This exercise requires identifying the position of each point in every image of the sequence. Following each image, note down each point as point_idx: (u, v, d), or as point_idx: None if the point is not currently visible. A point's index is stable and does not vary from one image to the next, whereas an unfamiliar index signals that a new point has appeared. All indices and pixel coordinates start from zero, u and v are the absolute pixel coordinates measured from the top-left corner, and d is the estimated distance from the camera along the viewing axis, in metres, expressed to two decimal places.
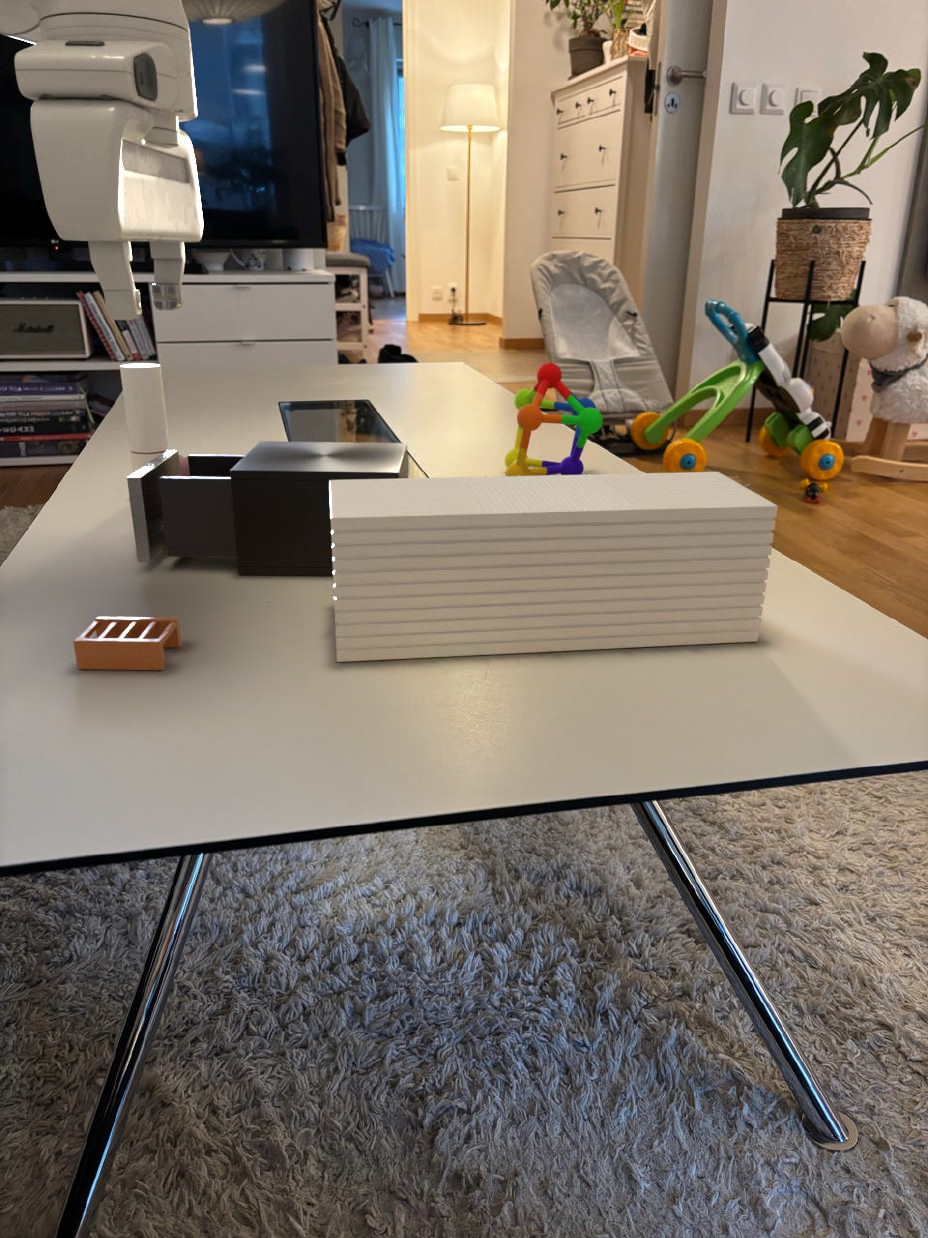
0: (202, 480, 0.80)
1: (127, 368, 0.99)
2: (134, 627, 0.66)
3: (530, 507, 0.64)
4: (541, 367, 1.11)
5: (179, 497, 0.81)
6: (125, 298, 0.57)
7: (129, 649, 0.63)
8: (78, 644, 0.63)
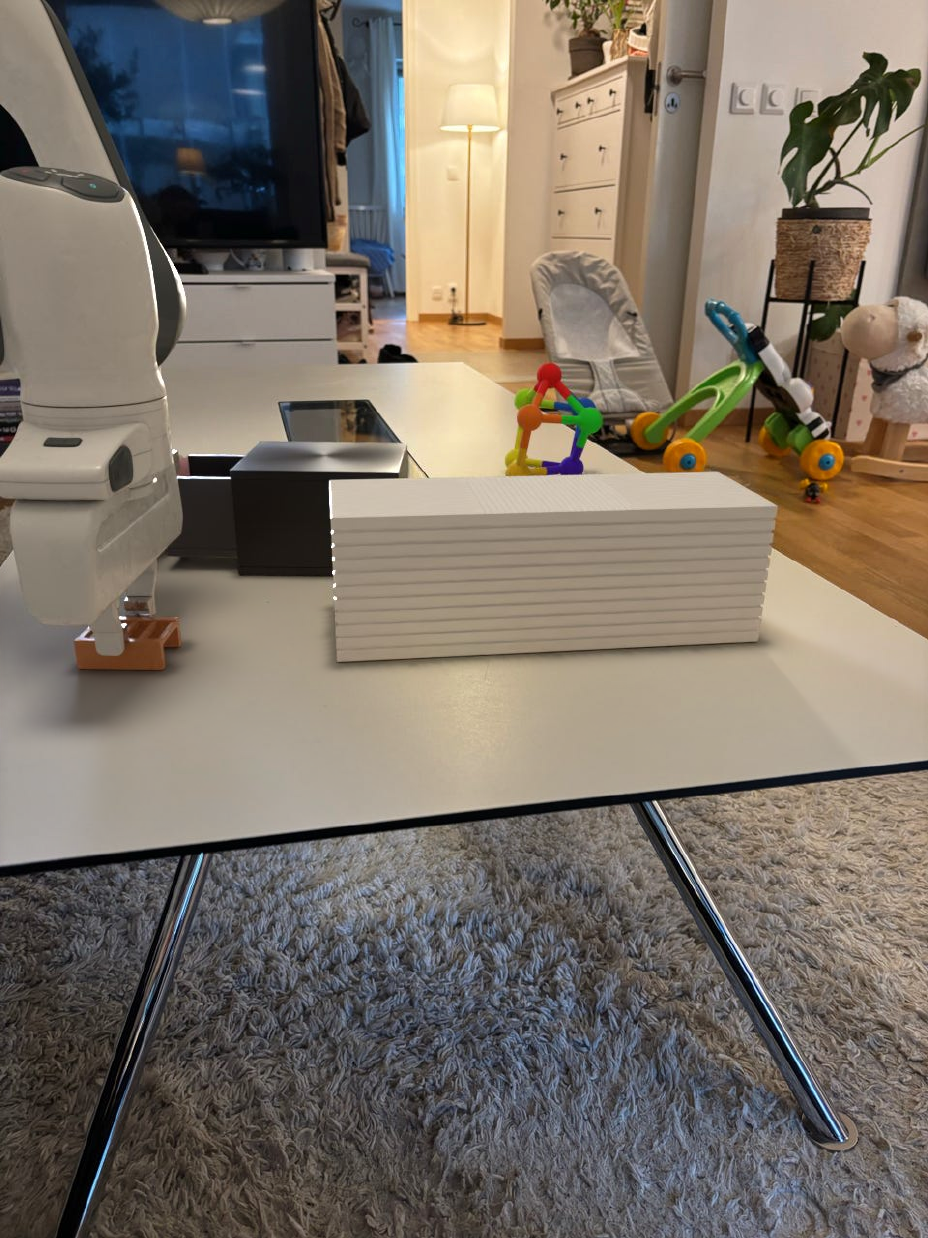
0: (202, 480, 0.80)
1: None
2: (134, 627, 0.66)
3: (530, 507, 0.64)
4: (541, 367, 1.11)
5: None
6: (113, 638, 0.61)
7: (129, 649, 0.63)
8: (78, 644, 0.63)
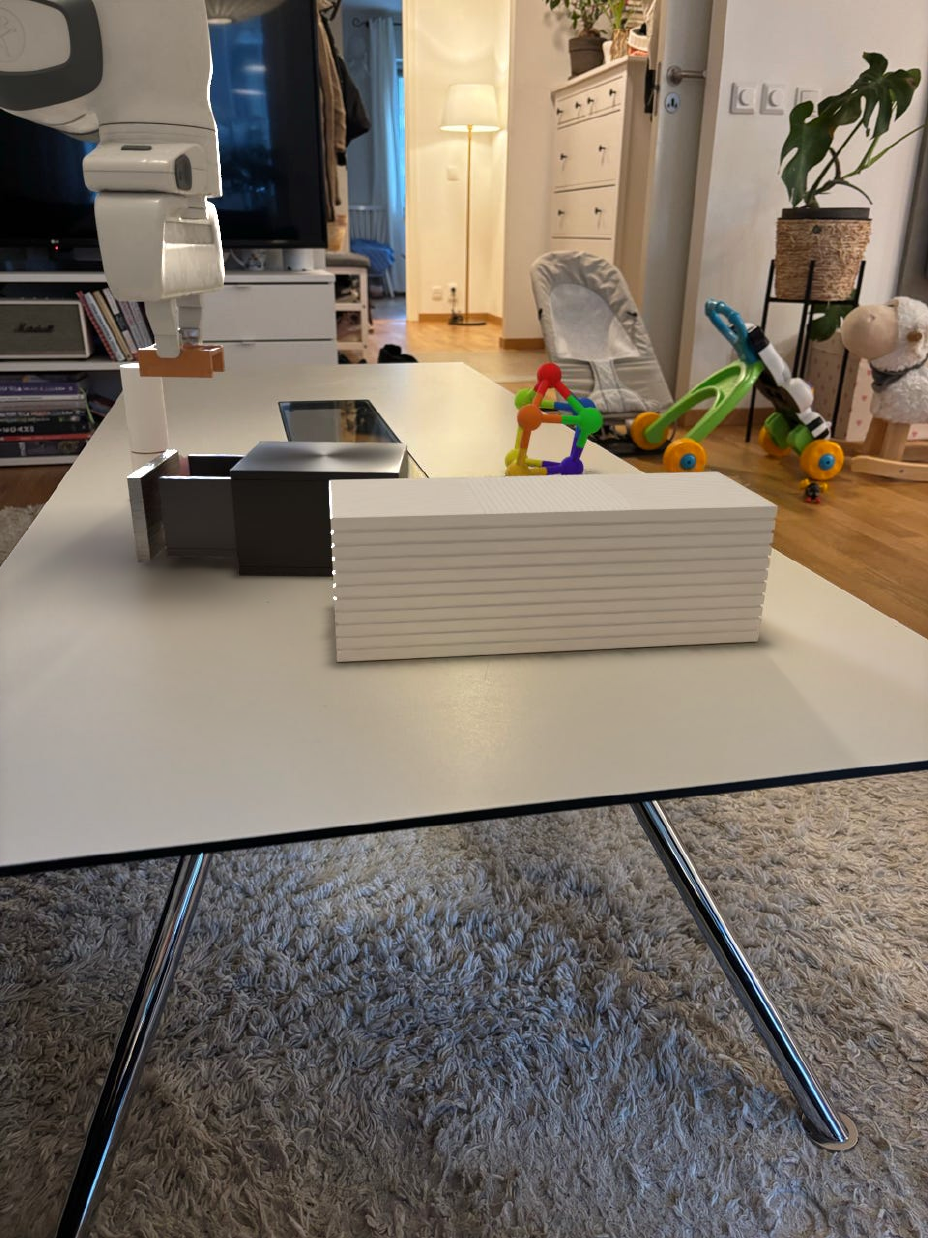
0: (202, 480, 0.80)
1: (127, 368, 0.99)
2: (186, 349, 0.78)
3: (530, 507, 0.64)
4: (541, 367, 1.11)
5: (179, 497, 0.81)
6: (171, 341, 0.73)
7: (184, 357, 0.75)
8: (141, 352, 0.75)
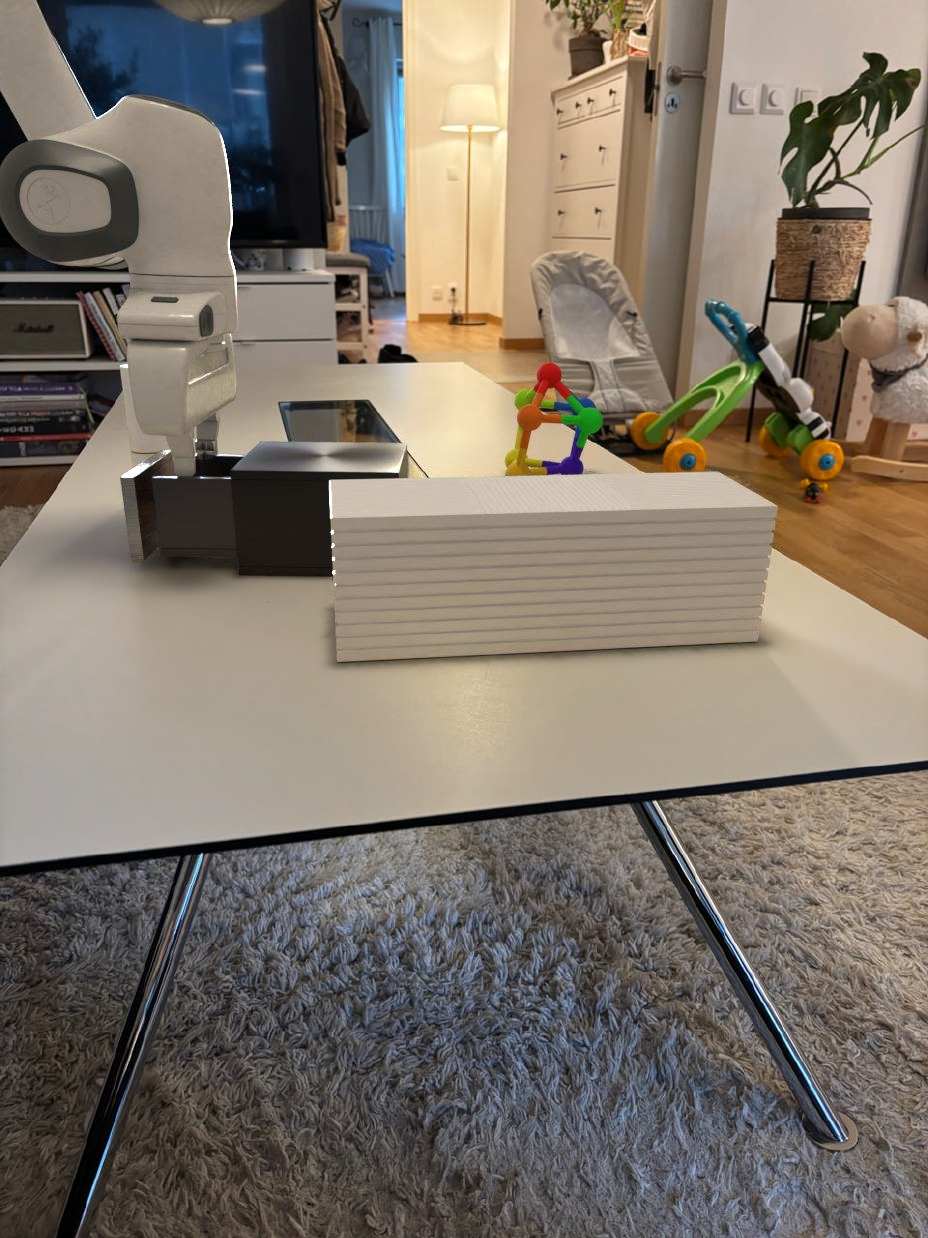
0: (195, 480, 0.80)
1: (127, 368, 0.99)
2: None
3: (530, 507, 0.64)
4: (541, 367, 1.11)
5: (173, 497, 0.81)
6: (188, 462, 0.80)
7: None
8: None
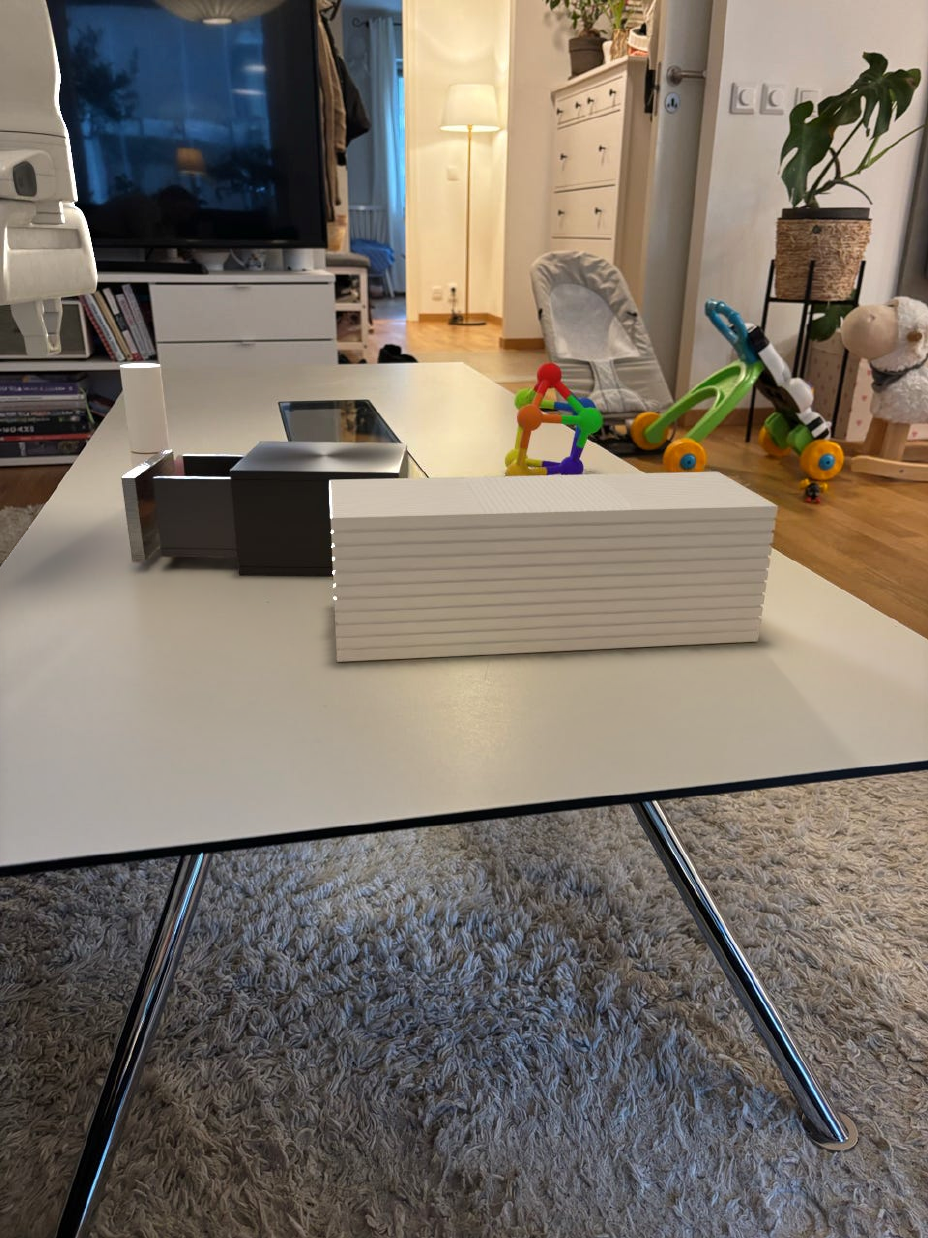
0: (196, 480, 0.80)
1: (127, 368, 0.99)
2: None
3: (530, 506, 0.64)
4: (541, 367, 1.11)
5: (174, 497, 0.81)
6: (40, 341, 0.77)
7: None
8: None
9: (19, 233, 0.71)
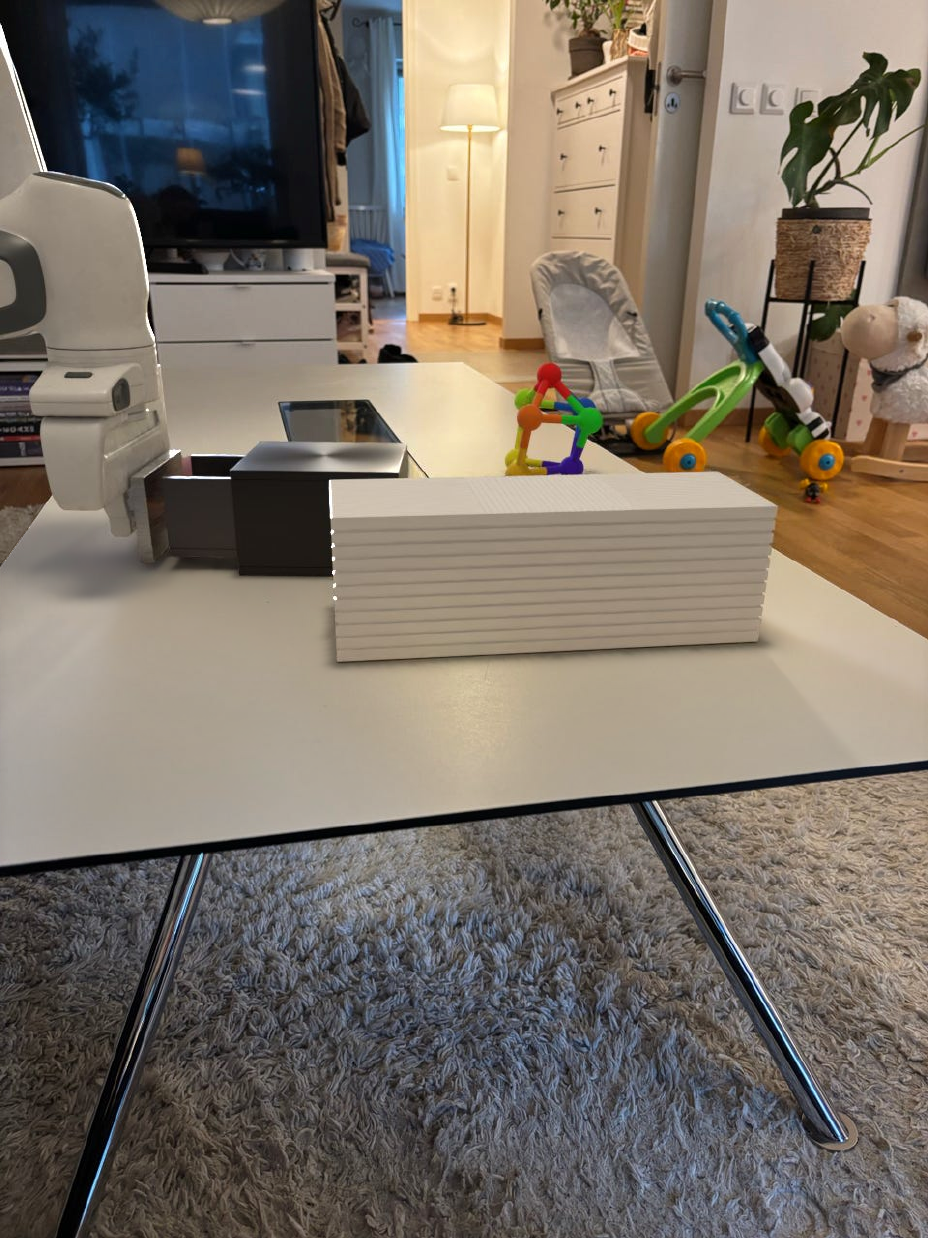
0: (205, 480, 0.80)
1: None
2: None
3: (530, 506, 0.64)
4: (541, 367, 1.11)
5: (182, 497, 0.81)
6: (124, 523, 0.83)
7: None
8: None
9: (112, 437, 0.77)
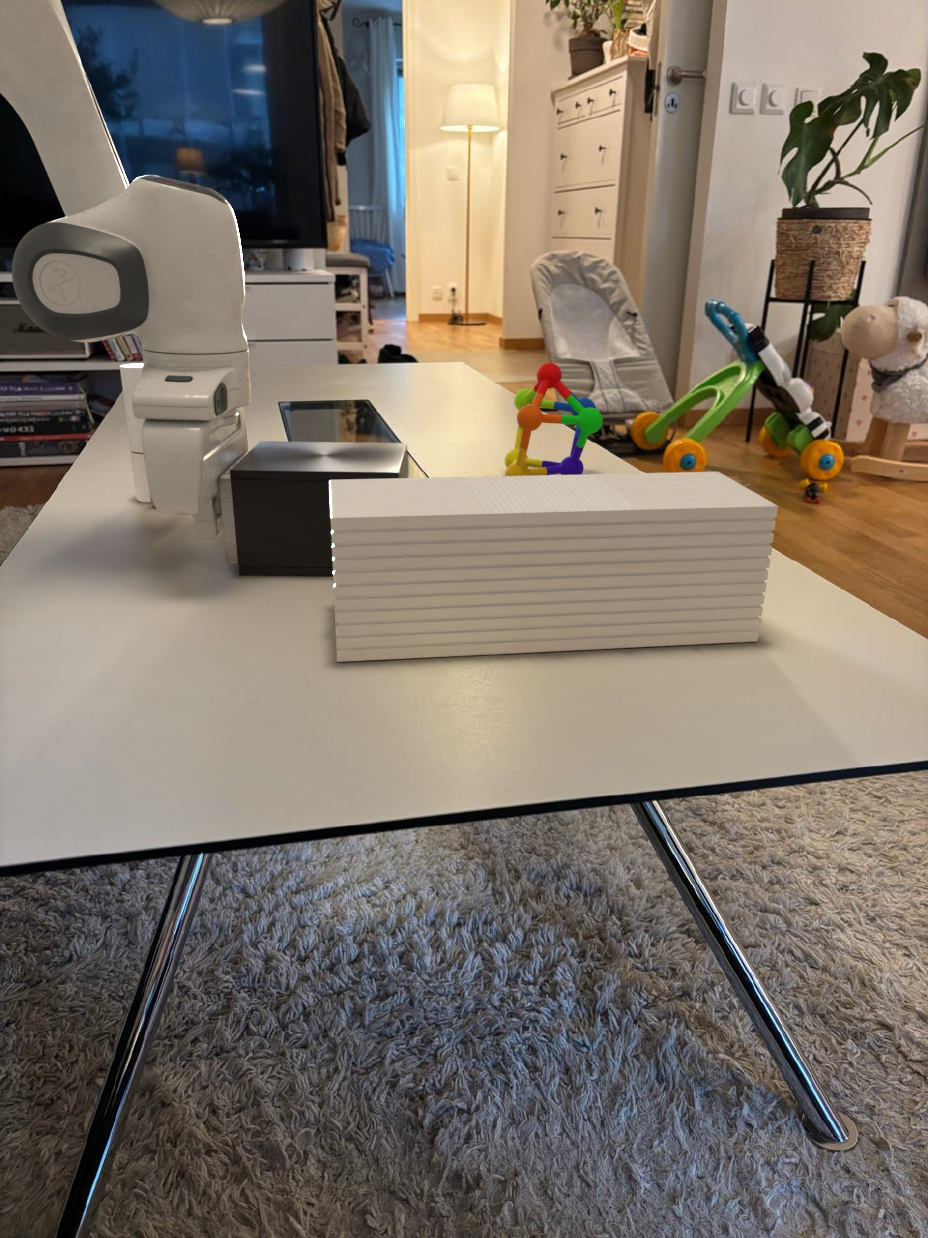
0: None
1: (127, 368, 0.99)
2: None
3: (530, 507, 0.64)
4: (541, 367, 1.11)
5: None
6: (210, 526, 0.83)
7: None
8: None
9: (207, 441, 0.77)
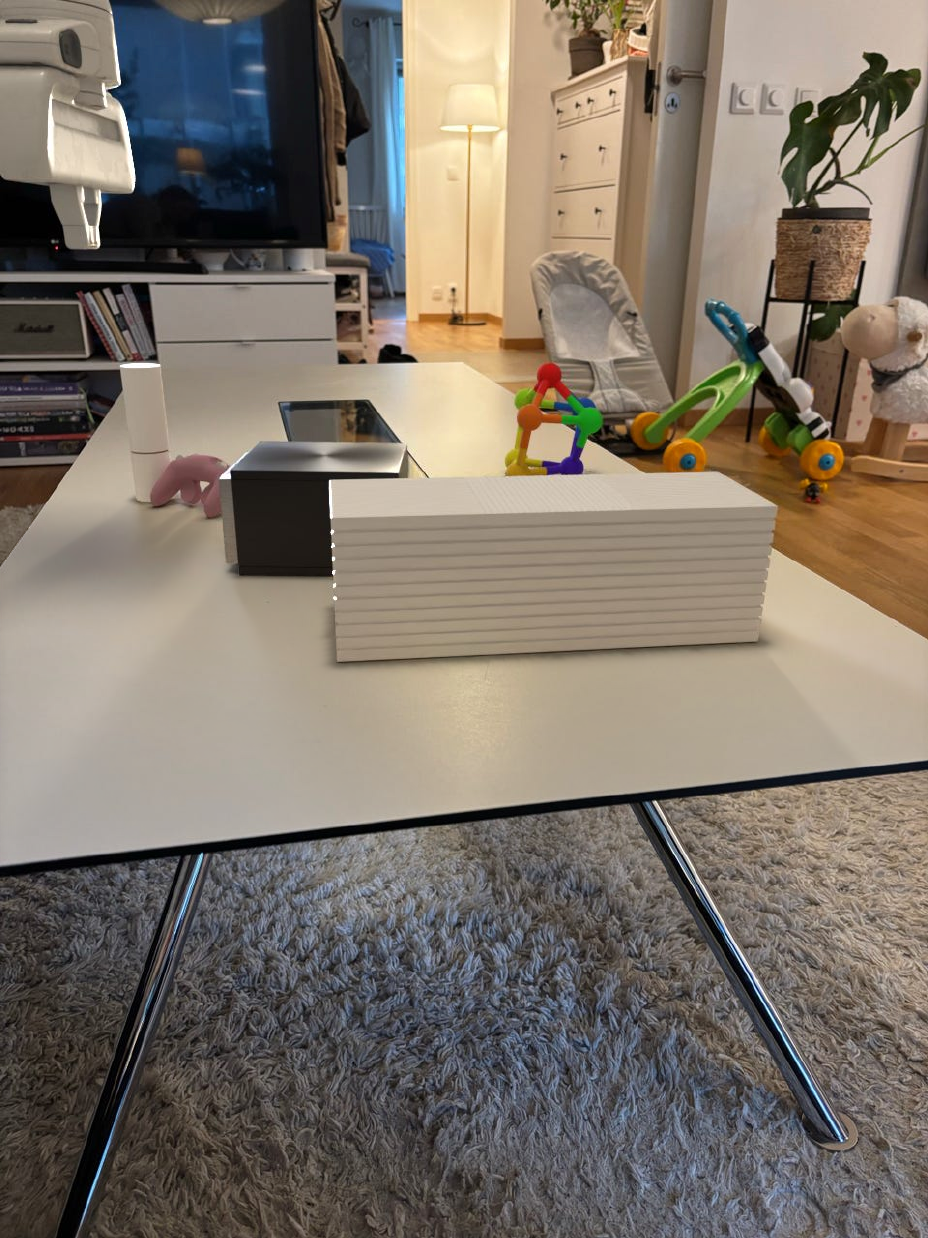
0: None
1: (127, 368, 0.99)
2: None
3: (530, 506, 0.64)
4: (541, 367, 1.11)
5: None
6: (79, 231, 0.74)
7: None
8: None
9: (62, 109, 0.68)
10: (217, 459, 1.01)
